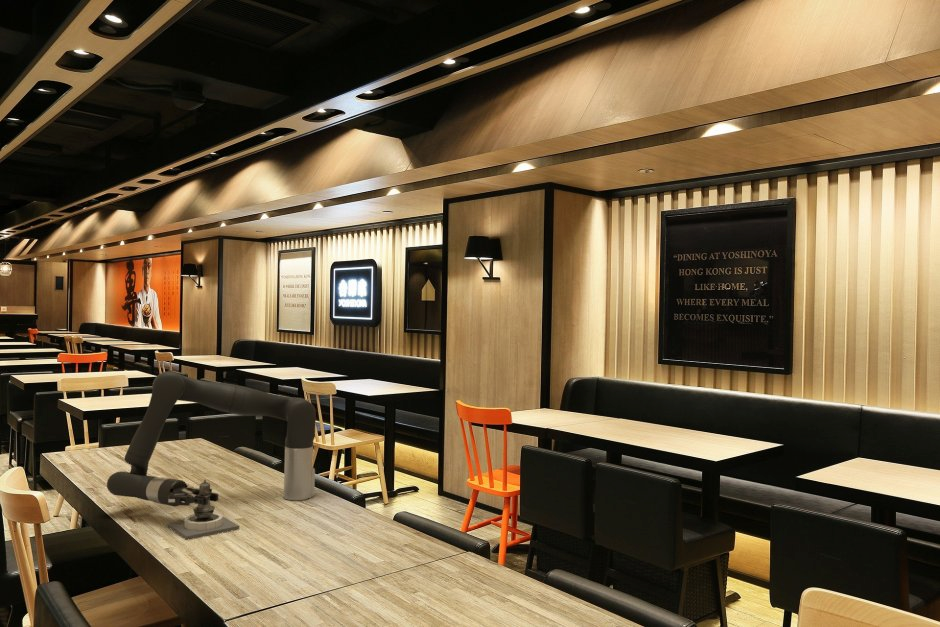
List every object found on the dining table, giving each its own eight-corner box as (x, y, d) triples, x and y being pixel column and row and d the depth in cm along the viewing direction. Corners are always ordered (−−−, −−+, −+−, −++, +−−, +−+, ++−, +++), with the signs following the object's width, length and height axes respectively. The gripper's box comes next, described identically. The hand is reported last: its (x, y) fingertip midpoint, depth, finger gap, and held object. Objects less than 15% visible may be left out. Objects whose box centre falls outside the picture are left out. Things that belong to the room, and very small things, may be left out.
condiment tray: (219, 517, 206) (219, 507, 206) (239, 529, 196) (239, 518, 196) (168, 527, 196) (168, 516, 196) (186, 540, 186) (186, 529, 185)
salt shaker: (206, 524, 192) (208, 482, 192) (188, 522, 194) (189, 480, 193) (218, 518, 198) (220, 477, 198) (200, 516, 199) (201, 475, 199)
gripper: (147, 484, 195) (194, 492, 188) (185, 473, 208) (230, 480, 201) (146, 510, 195) (193, 519, 188) (184, 498, 208) (229, 506, 201)
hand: (212, 499), depth 195 cm, fingers closed on salt shaker, 3 cm apart
